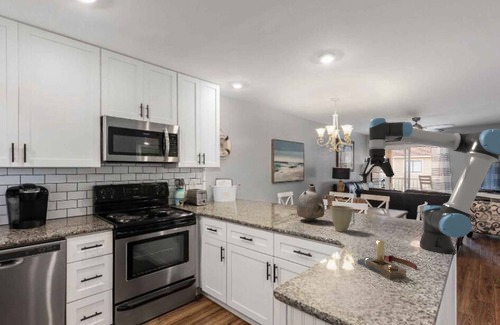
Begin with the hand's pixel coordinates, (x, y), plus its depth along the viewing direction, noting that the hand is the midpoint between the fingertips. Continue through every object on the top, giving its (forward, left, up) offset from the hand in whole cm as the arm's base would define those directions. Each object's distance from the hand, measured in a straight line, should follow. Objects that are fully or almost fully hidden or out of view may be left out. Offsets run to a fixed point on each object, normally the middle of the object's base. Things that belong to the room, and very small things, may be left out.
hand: (377, 189), depth 133 cm
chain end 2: (+17, +22, -32) cm, 42 cm away
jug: (-5, -74, -32) cm, 81 cm away
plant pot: (-10, -42, -32) cm, 54 cm away
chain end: (+17, +17, -32) cm, 40 cm away
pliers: (+3, +15, -32) cm, 36 cm away
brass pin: (+17, +20, -32) cm, 41 cm away
